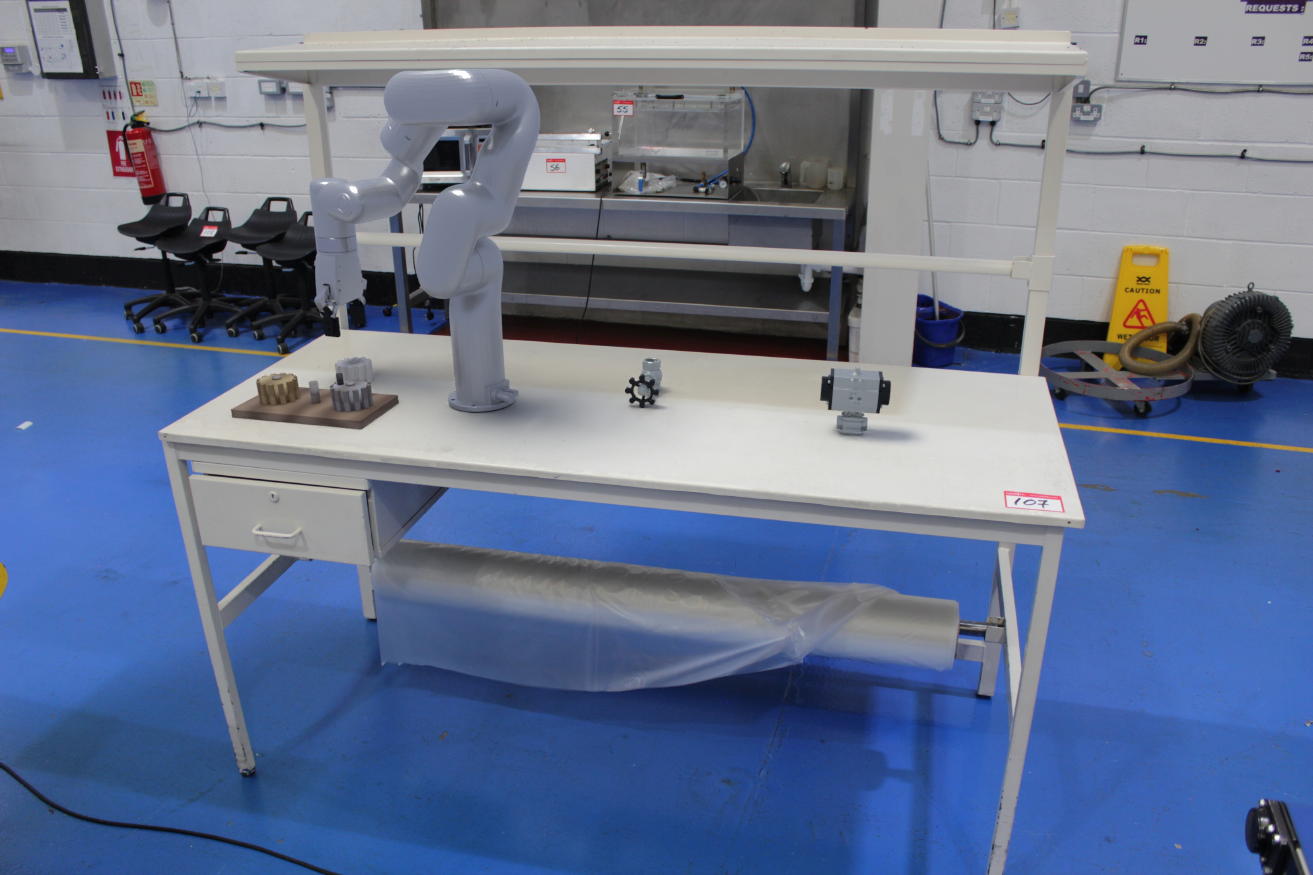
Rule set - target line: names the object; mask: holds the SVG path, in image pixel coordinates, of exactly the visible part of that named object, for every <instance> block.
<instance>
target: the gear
mask: <svg viewBox="0 0 1313 875" xmlns="http://www.w3.org/2000/svg"><path fill="white" fill-rule="evenodd" d="M334 369H335V374H336V373H342V374H343V380H347V379H348V380H353V379H358V380H362V379H364V380H366V381H370V383H371V384H372V381H375V378H374V368H373V361H372V358H370V357H364V356H361V357H358V356H354V357H350V358H349V357H345V358H343V359H339V360H337V361H335V362H334Z"/></svg>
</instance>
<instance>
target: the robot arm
mask: <svg viewBox="0 0 1313 875" xmlns="http://www.w3.org/2000/svg"><path fill="white" fill-rule="evenodd" d="M383 106H384V107H385V108H384V109H385V111H386V113H387V114H388V116H389V118H388V120H387V122H386V123H385V125H384V126H383V127H382V129H381V131H380V134H379V136H380V137H379V138H380V143H381V145H382V147H383V148H384V150H385V151H386V153H388V155H389V156H391V160H390V162H389V163H388V164H387V166H386V168H385V169H384V170H383V171H382V173H381V175H379V176H378V177H374V178H367V179H361V180H354V181H348V180H347V179H345V178H341V177H320V178H319V177H318V178H314V179H312V180H311V181H310V183H309V196H310V203H311V204H310V205H311V212H312V220H313V221H312V222H313V229H314V238H315V248H316V256H315V262H314V263H315V265H314V266H315V270H314V271H315V272H314V273H315V274H314V275H315V276H314V278H315V289H316V296H315V297H314V304H315V305H316V307H317V312H318V313H320V314H319V315H320V317H321V318H322V323H323V326H322V327H323V333H324V336H325V337H331V338H340V337H341V335H342V334H341V325H340V318H339V316H337V315H338V312H339V308H340V307H341V306H344V305H346V304H348V306H349V318H350V323H351V324H356V325H365V324H367V317H366V315H367V314H366V307H365V304H366V295H367V283H368V280H367V279H365V278H364V277H363V273H362V268H361V262H360V257H359V254H358V252H359V250H358V249H359V248H358V239H357V229H356V225H360V224H366V223H371V222H374V221H379V220H383V219H388V218H393V217H394V216H396V215H397V214H399V213H400V212H402V211H403V209H404V208H405V207H406V206H407V205H408V203H409V202H410V201H411V200H412V198H413V197H414V195H416V193H417V191H418V190H419V188H420V186H421V184H422V180H423V173H424V161H425V160H426V158H427V156H428V155H429V154H430V153H431V151H432V150H433V148H434V146H435V145H436V144H437V143H438V142H439V140H440V139H441V137H442V136H443V135H444V133H445V132H446V131H447V130H448V127H467V126H468V127H470V126H471V127H472V126H482V125H483V126H484V125H491V129H490V131H489V133H488V135H487V136H486V138H485V139H484V141H483V142H482V144H481V146H480V148H479V151H478V153H477V156H476V161H475V163H474V168H473V170H472V173H471V175H470V177H469V179H468V180H467V181H466V182H465V183H458V184H454V185H451V186H448V187H446V188H445V189H443V190H442V191H441V192H440V193H438V195H437V197H436V198H434V201H433V203H432V204H431V206H430V209H429V214H428V217H427V221H426V225H425V226H424V227H425V228H424V230H423V234H422V238H421V242H420V247H419V250H418V253H417V256H416V269H415V270H416V277H417V279H418V283H419V284H420V287H421V288H422V290H424V292H425V293H426V294H428V296H431V297H433V298H436V299H440V300H441V299H443V300H444V299H449V307H448V310H449V311H448V314H449V315H448V316H449V317H448V318H449V330H450V342H451V354H452V364H453V374H454V387H455V390H454V391H453V392H451V393H450V394H449V395H448V397H447V402H448V405H449V406H450V407H452V408H453V409H455V410H457V411H462V412H472V413H473V412H474V413H481V412H492V411H495V410H501V409H503V408H506V407H508V406H510V405H511V404H513V403H514V402H515V400H516V398H517V397H519V393H520V392H519V390H518V389H515V388H511V387H510V379H507V378H506V372H505V370H506V369H505V357H504V356H505V355H504V340H503V339H504V338H503V324H502V322H503V319H502V318H503V317H502V284H503V276H504V261H503V255H502V252H501V250H500V248H499V246H498V245H497V243H496V242H494V241H493V239H491V238H489V237H491V236H494V235H495V236H496V235H499V234H500V233H502V232H504V231H505V230H506V229H507V228H508V226H509V225H510V224H511V223H510V222H511V220H512V218H513V214H514V212H515V208H516V205H517V202H518V199H519V196H520V193H521V190H522V187H523V183H524V181H525V178H526V177H525V176H526V172H527V170H528V167H529V164H530V161H531V159H532V155H533V154H534V152H535V151H534V150H535V147H536V145H537V142H538V139H539V134H540V130H541V112H540V106H539V102H538V99H537V97H536V95H535V93H534V91H533V89H532V88H531V87H530V85H529V84H528V82H527V81H526V80H525V79H523V78H522V77H521V76H520V75H519V74H516V73H514V72H512V71H509V70H506V69H501V68H500V69H499V68H454V69H453V68H451V69H439V70H438V69H436V70H435V69H434V70H404V71H400V72H397V73H396V74H394V75H393V76H392V77H391V78H390V79H389V80H388V82H387V84H386V85H385V87H384V92H383ZM330 307H332V308H330Z"/></svg>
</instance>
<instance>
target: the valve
mask: <svg viewBox="0 0 1313 875" xmlns="http://www.w3.org/2000/svg"><path fill="white" fill-rule="evenodd" d="M661 363H662V360H661V359H660V358H657V357H645V358H643V359H642V370H641V372H640V373H641V374H640V375H639V377H638V380H635V377H633V376H631V377H630V378H629V379H628V383H629V384H630V385H631V387H630V386H626V387H625V389H624V393H625V394H626V395H628V394H630V395H631V397H630V398H629V399H628V402H629V403H630V404H631V405H632V404H635V403H636V402H638V403H639V404H638V407H639V408H640V409H644V408H645V407H646V403H648V404H649V405H650V406H654V405H655V404H656V399H655V398H653V397H654V396H655V397H656V396H659V395H660V392H661V386H662V385H661V383H662V382H661V381H662V380H663V379H662V378H663V372H662V369H661V365H662V364H661ZM635 387H637V394H638V395H639V396H641V398H639V397H638V396H637V395H636V394H635ZM646 395H649V396H648V397H646Z"/></svg>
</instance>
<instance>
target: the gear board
mask: <svg viewBox="0 0 1313 875" xmlns="http://www.w3.org/2000/svg"><path fill="white" fill-rule="evenodd" d="M335 379H336V382H334V384H333V383H332V384H330V385H329V388H319V387H320V386H319V381H318V380H310V381H308V387H304V386H299V380H298V375H296V374H294V373H292V372H291V373H286V372H280V373H271V374H269V375H267V374H266V375H263V376H261V377H257V379H256V381H255V384H256V389H257V395H256V396H255V395H254V397H252V398H250V399H248V400H246V401H244V402H242V403H240V404H238V405H236V406H234V407H232V408H231V409H230V412H231V417H232V418H238V419H249V420H259V421H268V422H269V421H271V422H281V423H282V422H283V423H290V424H291V423H292V424H301V425H302V424H304V425H315V426H324V427H325V426H326V427H334V428H335V427H336V428H343V429H345V428H347V429H356V430H362V429H363V428H365V427H366V426H368V425H369V424H370V423H372V422H373V421H374V420H376V419H378V418H379V417H381V416H382V415H384V414H385V413H386V412H387V411H390V409H392V408H393V407H395V406H396V405H398V404H399V402H400V401H399V394H386V393H375V392H372V386H371V384H372V382H371V383H370V381H366V380H364V379H362V380H358V379H353V380H348V379H347V380H343V374H342V373H336V372H335Z"/></svg>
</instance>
